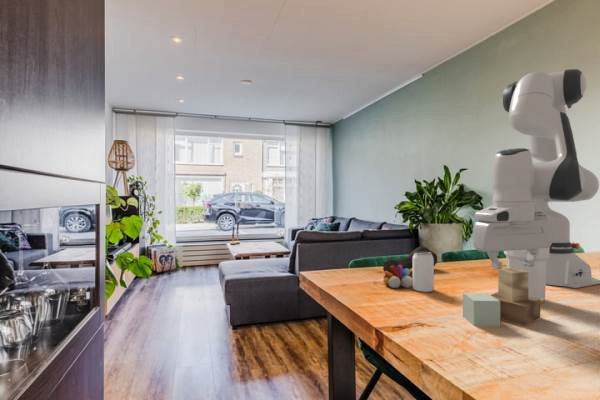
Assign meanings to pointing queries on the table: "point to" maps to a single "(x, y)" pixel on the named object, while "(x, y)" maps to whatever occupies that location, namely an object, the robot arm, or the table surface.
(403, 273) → the colorful ball cluster
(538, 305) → the walnut block
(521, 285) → the oak block
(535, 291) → the cup
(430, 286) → the can
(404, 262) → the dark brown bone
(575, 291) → the table surface
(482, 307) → the sage block
